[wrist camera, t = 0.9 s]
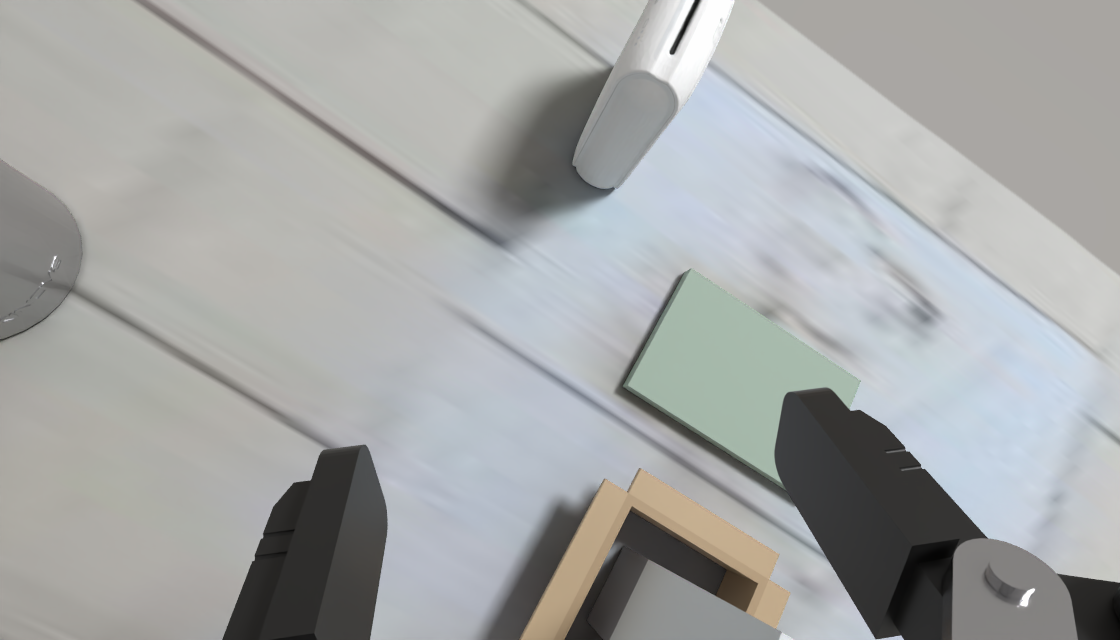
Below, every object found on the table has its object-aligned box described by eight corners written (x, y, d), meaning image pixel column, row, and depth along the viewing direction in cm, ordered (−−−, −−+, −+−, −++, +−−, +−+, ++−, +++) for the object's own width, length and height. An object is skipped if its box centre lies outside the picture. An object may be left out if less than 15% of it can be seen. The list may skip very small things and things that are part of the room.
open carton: (491, 655, 32) (499, 680, 28) (600, 452, 35) (618, 454, 32) (678, 762, 33) (707, 798, 30) (765, 555, 36) (800, 567, 33)
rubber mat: (622, 386, 36) (627, 385, 35) (684, 272, 39) (691, 268, 38) (801, 500, 38) (811, 501, 37) (850, 382, 40) (860, 381, 39)
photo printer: (619, 55, 41) (698, -99, 29) (671, 85, 42) (769, -54, 30) (560, 171, 38) (620, 53, 27) (616, 202, 39) (701, 99, 27)
